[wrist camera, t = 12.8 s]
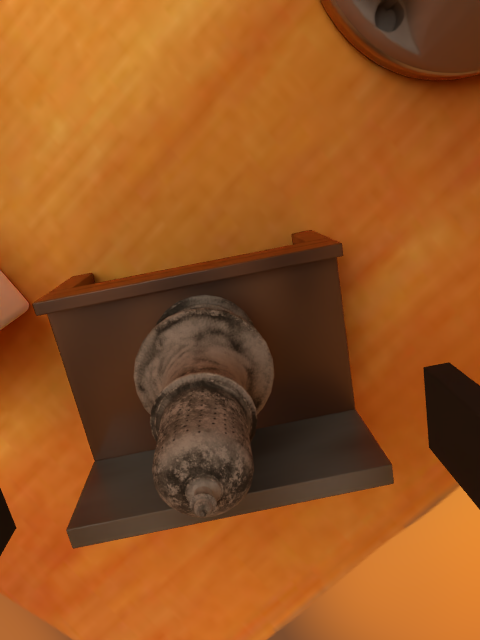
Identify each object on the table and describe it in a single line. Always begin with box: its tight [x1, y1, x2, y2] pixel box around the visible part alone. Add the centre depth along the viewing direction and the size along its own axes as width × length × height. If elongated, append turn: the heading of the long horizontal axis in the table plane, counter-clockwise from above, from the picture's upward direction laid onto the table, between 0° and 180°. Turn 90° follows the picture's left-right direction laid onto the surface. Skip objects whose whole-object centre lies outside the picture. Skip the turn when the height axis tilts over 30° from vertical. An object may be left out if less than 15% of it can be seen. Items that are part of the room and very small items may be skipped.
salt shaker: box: [134, 295, 274, 518], centre depth 17 cm, size 6×6×12 cm
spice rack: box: [33, 230, 394, 548], centre depth 23 cm, size 14×10×10 cm
